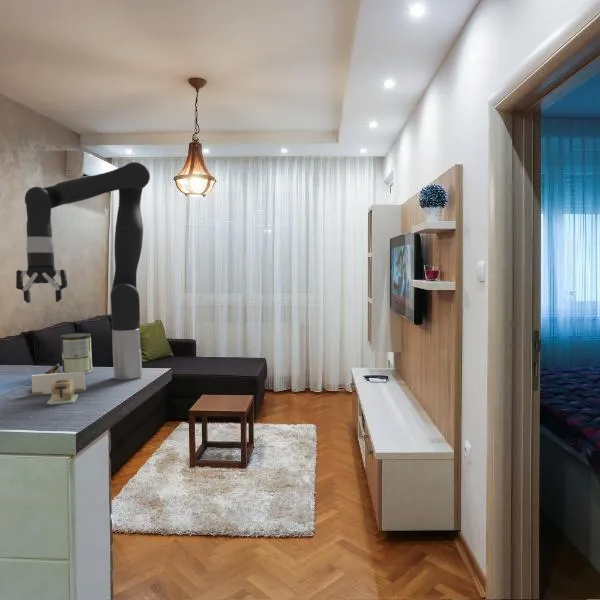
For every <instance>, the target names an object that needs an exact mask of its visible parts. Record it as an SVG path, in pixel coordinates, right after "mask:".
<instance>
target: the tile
mask: <svg viewBox="0 0 600 600" xmlns="http://www.w3.org/2000/svg"><path fill="white" fill-rule="evenodd" d="M78 397H79V394H75V393H74V396H73V398H72V399H71V400H63V401H52V397H50V399H49V400H48V401H47V402H46V405H47V404H50V405H63V404H71V403H73V404H74V403H75V401H76V400H77V399H78Z"/></svg>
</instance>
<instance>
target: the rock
mask: <svg viewBox="0 0 600 600" xmlns="http://www.w3.org/2000/svg"><path fill="white" fill-rule="evenodd" d="M60 368H61V367H60V363H59V362H58V363H57V364H56V365H55V366H52V367H51V368H50V369H48V370H46V371H45V372H43V374H55V373H61V369H60Z"/></svg>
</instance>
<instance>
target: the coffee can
mask: <svg viewBox="0 0 600 600" xmlns="http://www.w3.org/2000/svg"><path fill="white" fill-rule="evenodd" d="M91 336H92V334H91V333H89V332H75V333H74V332H73V333H67V334H66V333H65V334H62V335H60V343H61V344H60V345H61V361H62V373H70V372H85V374H88V373H91V372H92V371H93V362H92V361H93V357H92V356H93V355H92V338H91Z"/></svg>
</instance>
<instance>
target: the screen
mask: <svg viewBox="0 0 600 600" xmlns="http://www.w3.org/2000/svg"><path fill="white" fill-rule="evenodd" d="M67 379H73V380H74V393H84V392H86V391H87V387H86V373H85V372H70V373H63V372H59V373H55V374H44V373H43V374H40V373H39V374H32V375H31V394H32V396H34V397H35V396H42V395H49V394H51V395H52V392H51V384H52V383H53V382H54V381H55V380H67Z"/></svg>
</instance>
